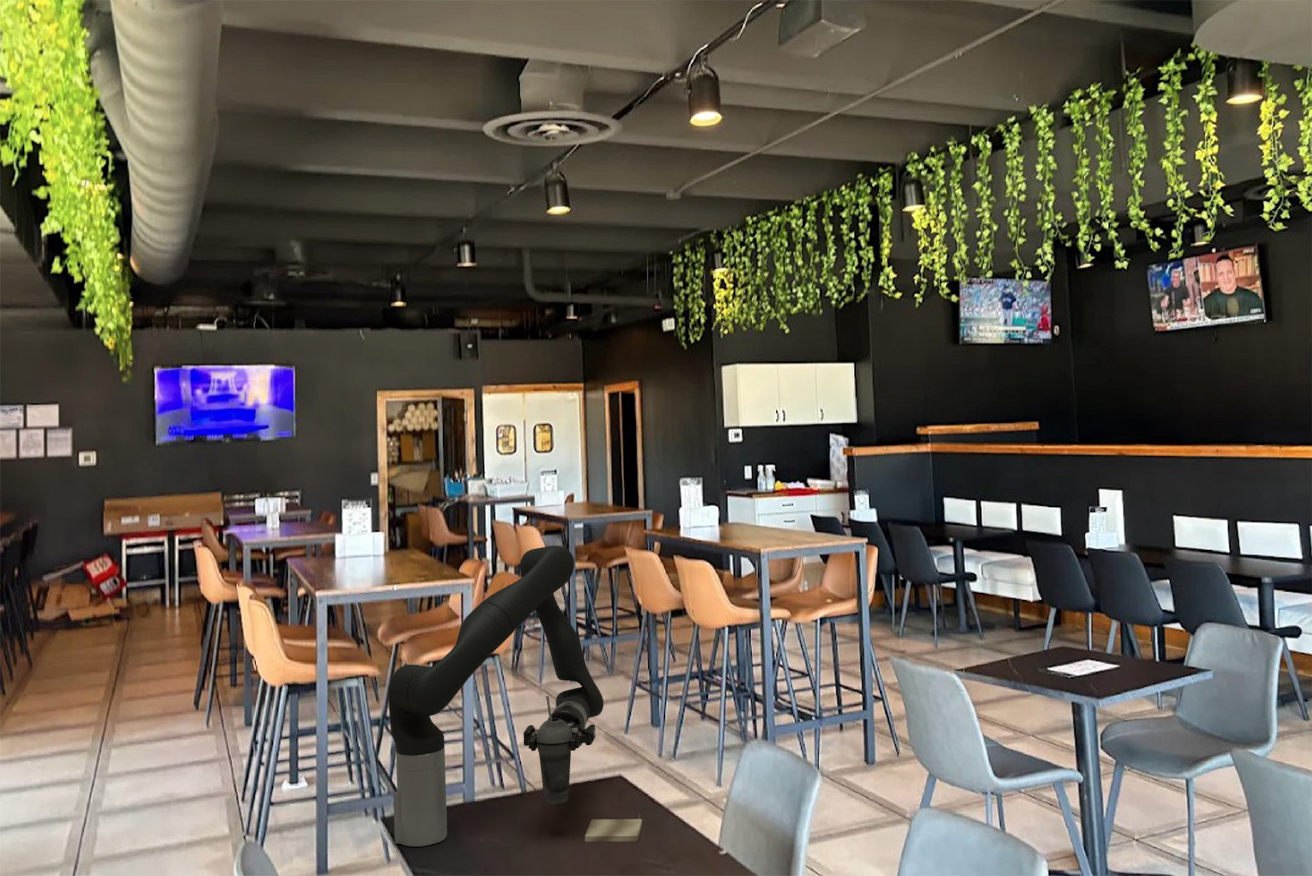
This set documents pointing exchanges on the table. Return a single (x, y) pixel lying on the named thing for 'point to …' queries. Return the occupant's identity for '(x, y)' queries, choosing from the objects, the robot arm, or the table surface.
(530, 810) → the table surface
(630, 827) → the birch coaster
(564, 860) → the table surface
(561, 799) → the beverage cup
